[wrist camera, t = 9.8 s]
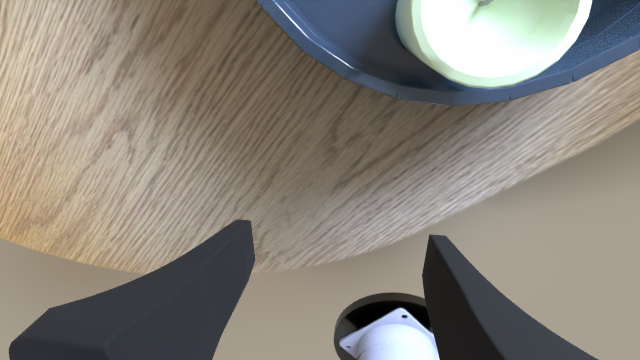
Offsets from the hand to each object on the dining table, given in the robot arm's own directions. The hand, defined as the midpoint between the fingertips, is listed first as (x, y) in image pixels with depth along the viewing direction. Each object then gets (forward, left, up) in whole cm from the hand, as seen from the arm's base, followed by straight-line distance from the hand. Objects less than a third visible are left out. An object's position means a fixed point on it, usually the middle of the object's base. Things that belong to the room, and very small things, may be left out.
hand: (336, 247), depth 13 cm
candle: (+3, -9, -9) cm, 13 cm away
